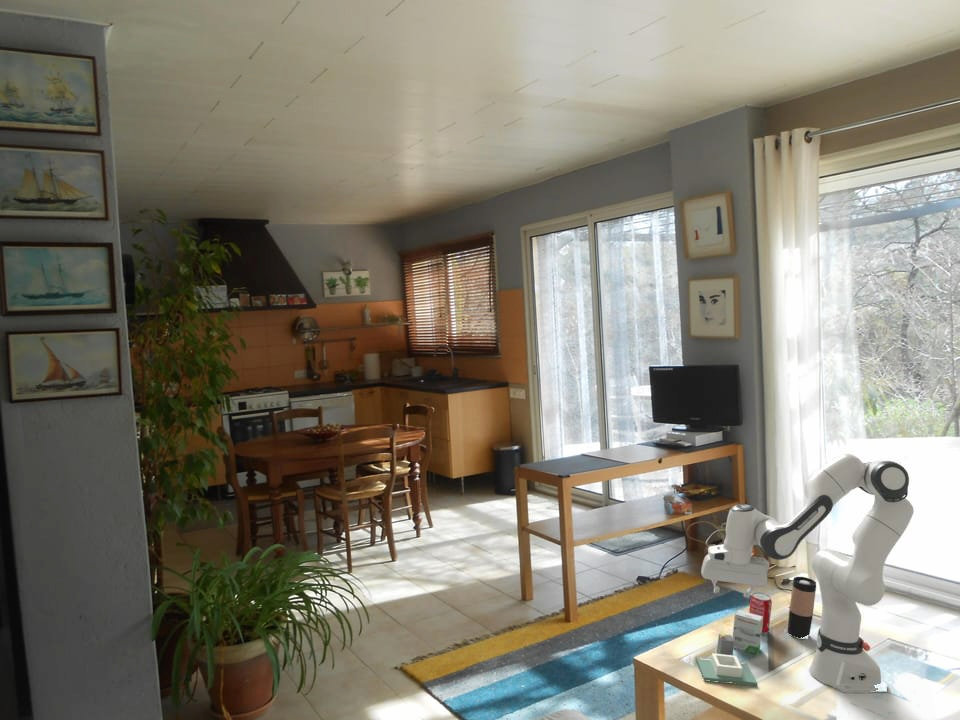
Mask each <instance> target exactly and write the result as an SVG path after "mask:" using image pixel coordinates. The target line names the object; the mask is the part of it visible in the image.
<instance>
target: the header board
mask: <svg viewBox="0 0 960 720" xmlns="http://www.w3.org/2000/svg"><path fill="white" fill-rule="evenodd" d="M695 663H696V665H697V667H698V669H699V672H701V673H700V675H701V674H702V675H701V678H702V677H703V678H702V680H703V679H704V680H710V681H718V682H732V683H736V684H735V685H737V684H740V686H747V687H749V686H750V687H757V686H758V682H757V680H756V677H755V676H754V674H753V672H752V670H751V669H750V666H749V664H748V662H746V661H739V659H738V657H737V655H734V654H733V655H723V654H717V653H711V658H707V657H698V656H697V657H696V658H695ZM704 680H703V681H704ZM718 682H717V683H718Z"/></svg>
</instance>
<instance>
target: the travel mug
mask: <svg viewBox="0 0 960 720" xmlns="http://www.w3.org/2000/svg"><path fill="white" fill-rule="evenodd" d="M792 581H793V582H792V587H791V596H790V602H789V611H788V622H787V634H788V633H789V634H791V635H792V636H795V637H798V638H801V637H802V638H803V637H805V636H807V635H809V634H810V633H811V628H812V623H813V618H814V617H813V615H814V608H815V606H814V605H815V599H816V592H817V582H816V581H815V580H814V579H812V578H809V577H804V576H795V577H794V578H793V580H792ZM789 634H788V635H789ZM792 636H791V637H792ZM809 636H810V635H809Z"/></svg>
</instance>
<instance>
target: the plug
mask: <svg viewBox="0 0 960 720" xmlns="http://www.w3.org/2000/svg"><path fill="white" fill-rule="evenodd" d="M717 639H718V640H717V645H716V646H717V649H716V654H723V655H733V656H734V649H735V648H734V640H733V635H730V634H724V633H719V634H718V638H717Z"/></svg>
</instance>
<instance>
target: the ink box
mask: <svg viewBox="0 0 960 720" xmlns="http://www.w3.org/2000/svg"><path fill="white" fill-rule="evenodd" d="M762 624H763V616H759V615H755V614H751V613H749V611H748V612H747V611H744V610H739V609H738V610H736V612H735V614H734V618H733V631H732V638H733V640H734V648H733V649H736V650H740V651H744V652H747V653H750V654H755V655H759V653H760V651H761V641H762V635H763V634H762Z"/></svg>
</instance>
